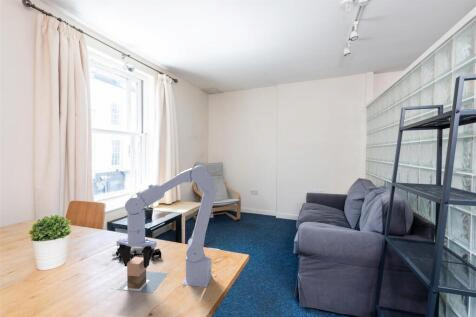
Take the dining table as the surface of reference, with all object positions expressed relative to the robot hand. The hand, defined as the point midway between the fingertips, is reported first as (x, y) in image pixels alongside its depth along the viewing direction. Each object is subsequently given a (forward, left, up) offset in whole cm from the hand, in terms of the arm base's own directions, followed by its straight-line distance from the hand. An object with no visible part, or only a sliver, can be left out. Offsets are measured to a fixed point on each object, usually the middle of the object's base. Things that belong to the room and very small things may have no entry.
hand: (136, 265), depth 77 cm
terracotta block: (0, 0, -2) cm, 2 cm away
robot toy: (+16, -21, -8) cm, 28 cm away
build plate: (+3, -19, -8) cm, 21 cm away
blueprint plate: (-1, -2, -8) cm, 8 cm away
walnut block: (0, 0, -7) cm, 7 cm away
